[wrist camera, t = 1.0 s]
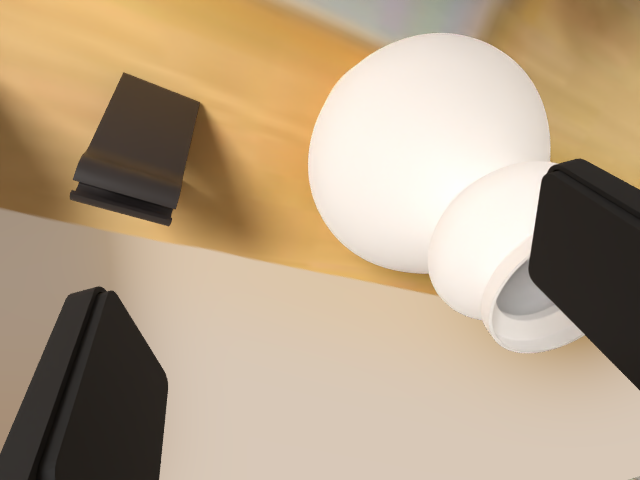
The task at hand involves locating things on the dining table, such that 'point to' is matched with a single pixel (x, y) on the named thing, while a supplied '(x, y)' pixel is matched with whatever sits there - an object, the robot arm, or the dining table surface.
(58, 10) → the dining table surface
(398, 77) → the decorative vase
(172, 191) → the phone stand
